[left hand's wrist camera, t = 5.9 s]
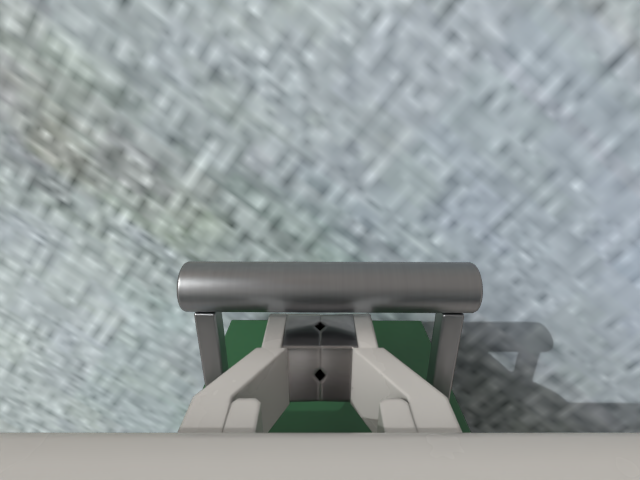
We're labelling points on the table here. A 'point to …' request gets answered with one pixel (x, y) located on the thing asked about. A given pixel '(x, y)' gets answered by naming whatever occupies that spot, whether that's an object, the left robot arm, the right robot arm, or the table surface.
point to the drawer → (333, 296)
